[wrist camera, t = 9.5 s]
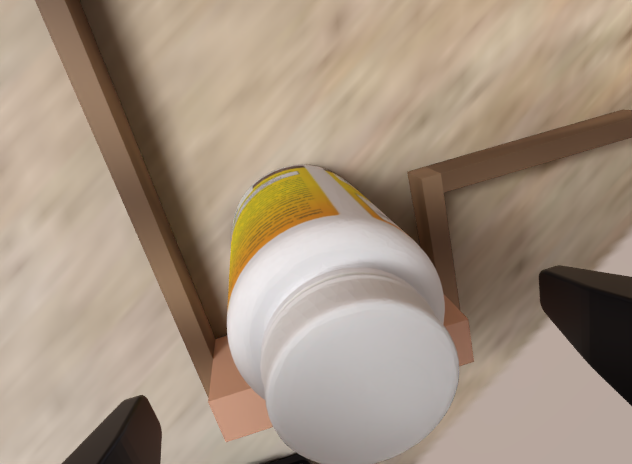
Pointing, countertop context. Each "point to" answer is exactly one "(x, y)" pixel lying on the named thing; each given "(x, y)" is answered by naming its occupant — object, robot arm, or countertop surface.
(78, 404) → the countertop surface
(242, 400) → the stop block
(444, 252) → the walnut track
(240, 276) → the supplement bottle
